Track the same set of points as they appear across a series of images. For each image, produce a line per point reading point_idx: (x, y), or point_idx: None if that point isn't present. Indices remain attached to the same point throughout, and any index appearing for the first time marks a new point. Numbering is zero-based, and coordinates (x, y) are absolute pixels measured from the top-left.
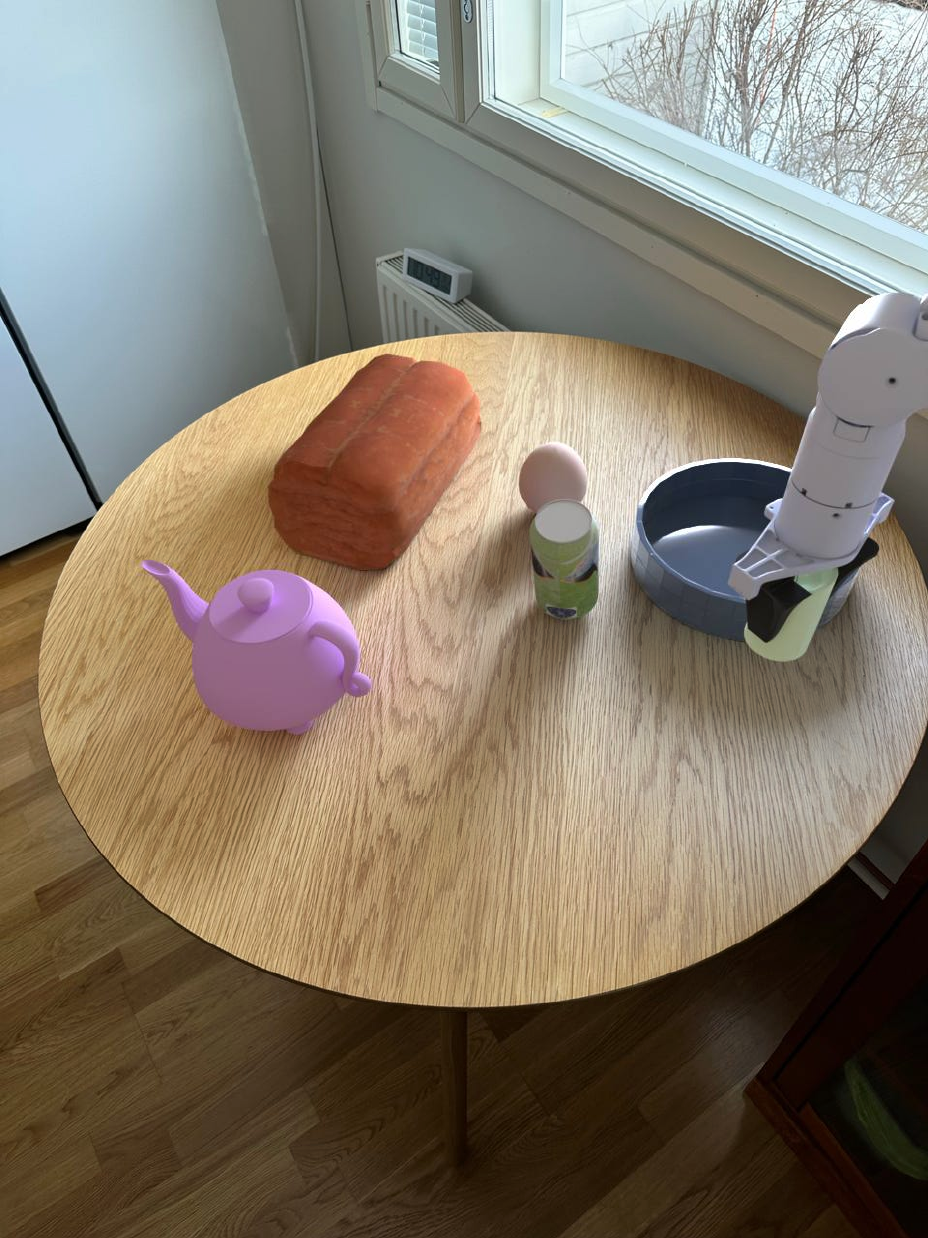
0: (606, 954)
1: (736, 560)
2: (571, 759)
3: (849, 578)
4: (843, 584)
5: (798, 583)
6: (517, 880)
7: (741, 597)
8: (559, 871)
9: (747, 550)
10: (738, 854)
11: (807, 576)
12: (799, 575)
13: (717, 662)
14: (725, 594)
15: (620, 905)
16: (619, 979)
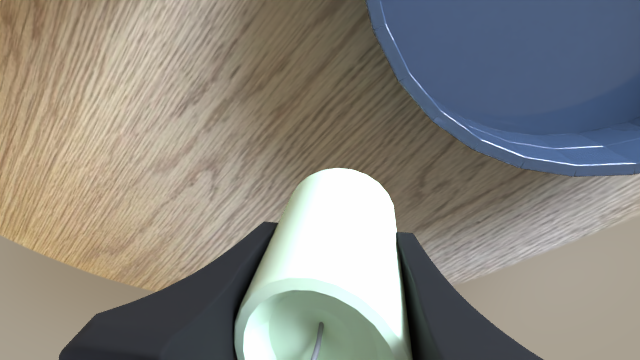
0: (63, 248)
1: (63, 351)
2: (95, 95)
3: (623, 172)
4: (596, 174)
5: (326, 333)
6: (8, 167)
7: (490, 16)
8: (46, 183)
9: (122, 353)
10: (198, 260)
11: (347, 354)
12: (344, 331)
13: (346, 93)
14: (398, 52)
15: (86, 231)
16: (66, 263)
